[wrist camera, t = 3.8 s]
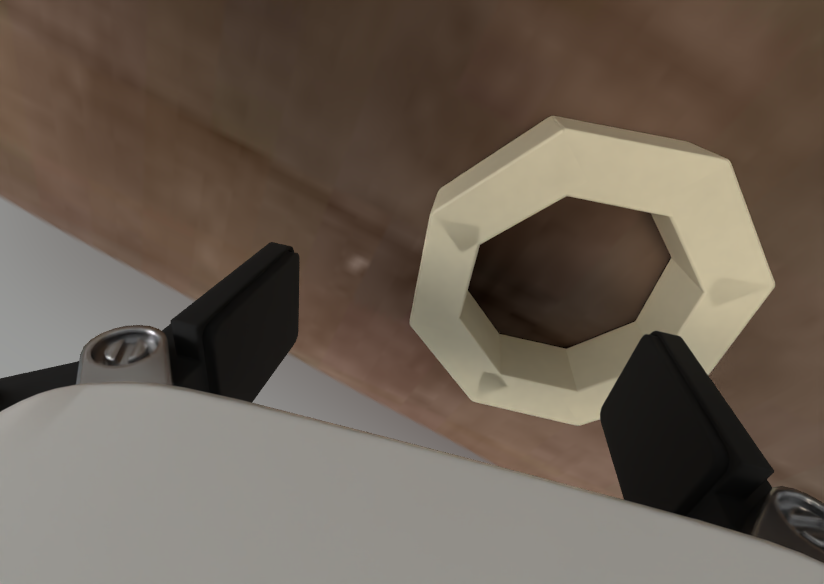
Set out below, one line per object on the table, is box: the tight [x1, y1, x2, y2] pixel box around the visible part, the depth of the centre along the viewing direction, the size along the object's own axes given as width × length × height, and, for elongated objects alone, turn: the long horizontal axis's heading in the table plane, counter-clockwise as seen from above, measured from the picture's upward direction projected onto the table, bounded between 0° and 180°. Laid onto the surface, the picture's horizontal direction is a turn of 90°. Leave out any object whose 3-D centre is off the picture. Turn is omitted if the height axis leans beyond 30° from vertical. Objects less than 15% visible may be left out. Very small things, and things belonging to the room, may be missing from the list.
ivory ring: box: [410, 116, 775, 426], centre depth 13 cm, size 10×10×2 cm
